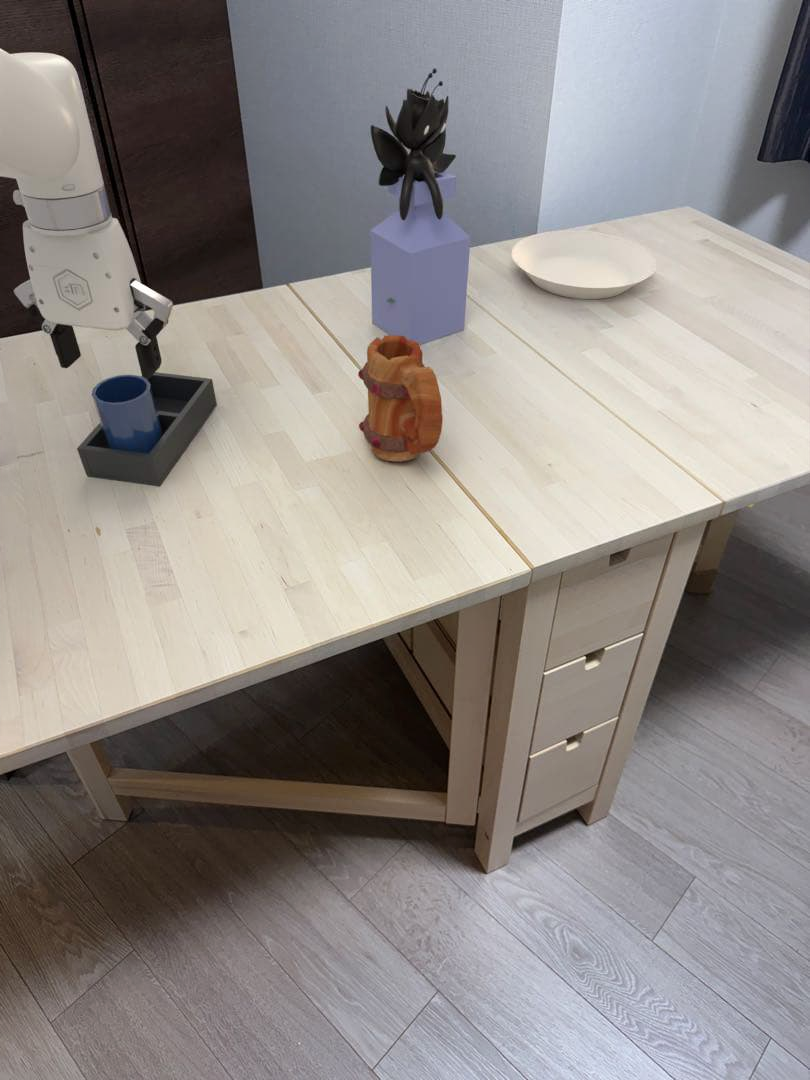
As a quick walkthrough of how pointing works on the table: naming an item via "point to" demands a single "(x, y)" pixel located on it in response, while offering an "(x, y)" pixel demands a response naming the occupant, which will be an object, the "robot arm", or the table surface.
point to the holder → (180, 418)
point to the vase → (418, 227)
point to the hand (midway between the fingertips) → (111, 367)
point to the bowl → (583, 263)
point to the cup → (128, 413)
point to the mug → (400, 400)
